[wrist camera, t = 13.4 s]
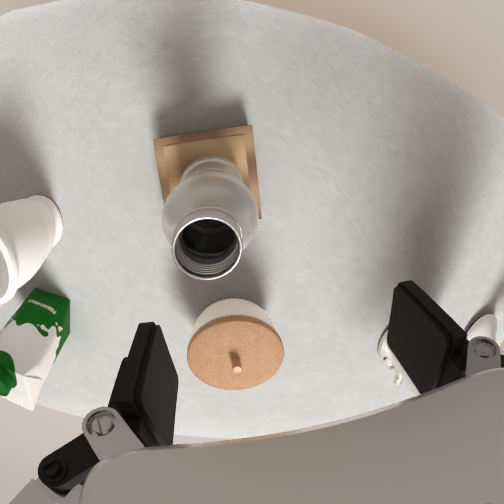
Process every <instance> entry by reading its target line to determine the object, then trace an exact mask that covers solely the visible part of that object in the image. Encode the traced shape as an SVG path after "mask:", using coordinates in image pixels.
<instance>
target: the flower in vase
mask: <svg viewBox="0 0 504 504" xmlns="http://www.w3.org/2000/svg"><path fill="white" fill-rule="evenodd" d="M496 332H497V319H496V317H495V315H493V314H487V315H484V316H482V317H481V318H480V319H478V320H477V321H476V322H475V323H474V324H473V326H472V327H471V328H470V330H469V331H468V333H467V334H468V335H467V339H468V340H469V341H470V340H471V339H472V338H474V337H477V336H485V337H488V338H490V339H492V340H494V341H495V338H496ZM495 342H496V341H495ZM499 348H500V347H499ZM500 354H502V355H504V351H503V350H502V349H501V348H500Z"/></svg>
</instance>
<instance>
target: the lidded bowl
mask: <svg viewBox="0 0 504 504" xmlns="http://www.w3.org/2000/svg"><path fill="white" fill-rule="evenodd" d="M283 357H284V348H283V344H282V341H281V338H280V336H279V335H278V331H277V329H276V327H275V325H274V323H273V321H272V319H271V318H270V317H269V315H268V314H267V313H266V312H265V311H264V310H263V309H262V308H261V307H259V306H258V305H256V304H255V303H253V302H250V301H247V300H244V299H237V298H230V299H224V300H220V301H218V302H215V303H213V304H211V305H210V306H208V307H207V308H206V309H205V310H204V311H203V312H202V313H201V314H200V315H199V316H198V318H197V320H196V321H195V323H194V325H193V328H192V331H191V335H190V341H189V345H188V351H187V360H188V364H189V367H190V369H191V370H192V372H193V373H194V374H195V376H196V377H198V378H199V379H200V380H201V381H203V382H204V383H206V384H208V385H210V386H212V387H216V388H219V389H224V390H242V389H248V388H252V387H255V386H257V385H259V384H261V383H264V382H265V381H267V380H268V379H269V378H271V377H272V376H273V375H274V374H275V373H276V372H277V370H278V369H279V367H280V366H281V364H282V361H283Z"/></svg>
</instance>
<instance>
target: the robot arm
mask: <svg viewBox="0 0 504 504" xmlns="http://www.w3.org/2000/svg"><path fill="white" fill-rule="evenodd" d="M467 335H468V334H467V333H466V332H465V331H464V330H463V329H462V328H461V327H460V326H459V325H458V324H457V323H456V322H455V321H454V320H453V319H452V318H451V317H450V316H449V315H448V314H447V313H446V312H445V311H444V310H443V309H442V308H441V307H440V306H439V305H438V304H437V303H436V302H434V301H433V300H432V299H431V298H430V297H429V296H428V295H427V294H426V293H425V292H424V291H423V290H422V289H421V288H420V287H419V286H418V285H416V284H415V283H414V282H413V281H412V280H409V281H404V282H400V283H398V285H397V287H395V288H394V293H393V301H392V308H391V315H390V321H389V327H388V330H387V331H386V332H385V334H384V335H383V337H382V338H381V341H380V343H379V346H378V354H379V357H380V359H381V360H382V362H383V363H385V364H386V365H389V366H394V368H395V373H396V374H395V377H394V380H393V382H394V383H395V384H397V385H399V384H401V383H402V380H403V379H404V381H405V383H406V384H407V386H408V387H409V389H410V390H411V392H412V394H413V395H414V397H413V398H410V399H407V400H404V401H401V402H398V403H396V404H393V405H390V406H386V407H383V408H380V409H377V410H374V411H370V412H367V413H364V414H360V415H357V416H353V417H349V418H346V419H342V420H338V421H334V422H330V423H326V424H321V425H317V426H312V427H308V428H303V429H298V430H293V431H288V432H282V433H276V434H270V435H264V436H257V437H250V438H242V439H234V440H224V441H215V442H204V443H192V444H176V445H173V434H174V422H175V411H176V401H177V392H178V375H177V372H176V370H175V367H174V364H173V361H172V359H171V356H170V353H169V350H168V347H167V345H166V342H165V339H164V336H163V333H162V330H161V327H160V325H155V323H154V322H147V323H140V324H139V325H138V328H137V331H136V334H135V337H134V340H133V343H132V346H131V349H130V352H129V355H128V357H125V358H124V359H123V360H122V363H121V366H120V369H119V372H118V375H117V378H116V381H115V384H114V388H113V391H112V394H111V398H110V401H109V404H108V407H100V408H97V409H94V410H92V411H91V412H89V413H88V414H87V415H86V417H85V418H84V420H83V423H82V430H83V434H81V435H80V436H78V437H77V438H75V439H73V440H72V441H70V442H69V443H67V444H65V445H64V446H62V447H61V448H59V449H57V450H56V451H54V452H53V453H51V454H50V455H48V456H46V457H45V458H44V459H43V460H42V461H41V463H40V464H39V467H38V476H39V477H38V478H37V479H36V480H34V479H32V480H31V481H30V482H29V483H28V484H27V485H26V486H25V487H24V488H23V489H22V491H20V493H19V494H18V495H17V496H16V497H15V498H14V499H13V500H12V501H11V502H10V503H9V504H504V355H502V354H500V348H499V346H498V344H497V343H496V342H495V341H494V340H492V339H490V338H488V337H485V336H477V337H474V338H472V339H471V340H470V341H469V340H468V339H467Z"/></svg>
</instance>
